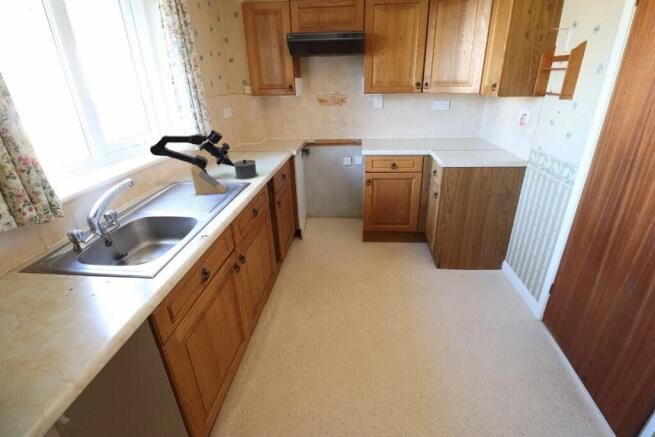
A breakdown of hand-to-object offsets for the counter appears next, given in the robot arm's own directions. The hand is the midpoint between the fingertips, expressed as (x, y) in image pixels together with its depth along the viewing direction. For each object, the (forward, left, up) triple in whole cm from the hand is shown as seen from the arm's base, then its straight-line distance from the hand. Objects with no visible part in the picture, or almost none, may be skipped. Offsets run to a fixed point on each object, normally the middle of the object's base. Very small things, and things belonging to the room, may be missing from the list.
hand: (234, 165), depth 203 cm
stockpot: (+6, +3, -7) cm, 10 cm away
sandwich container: (+1, -28, -7) cm, 29 cm away
